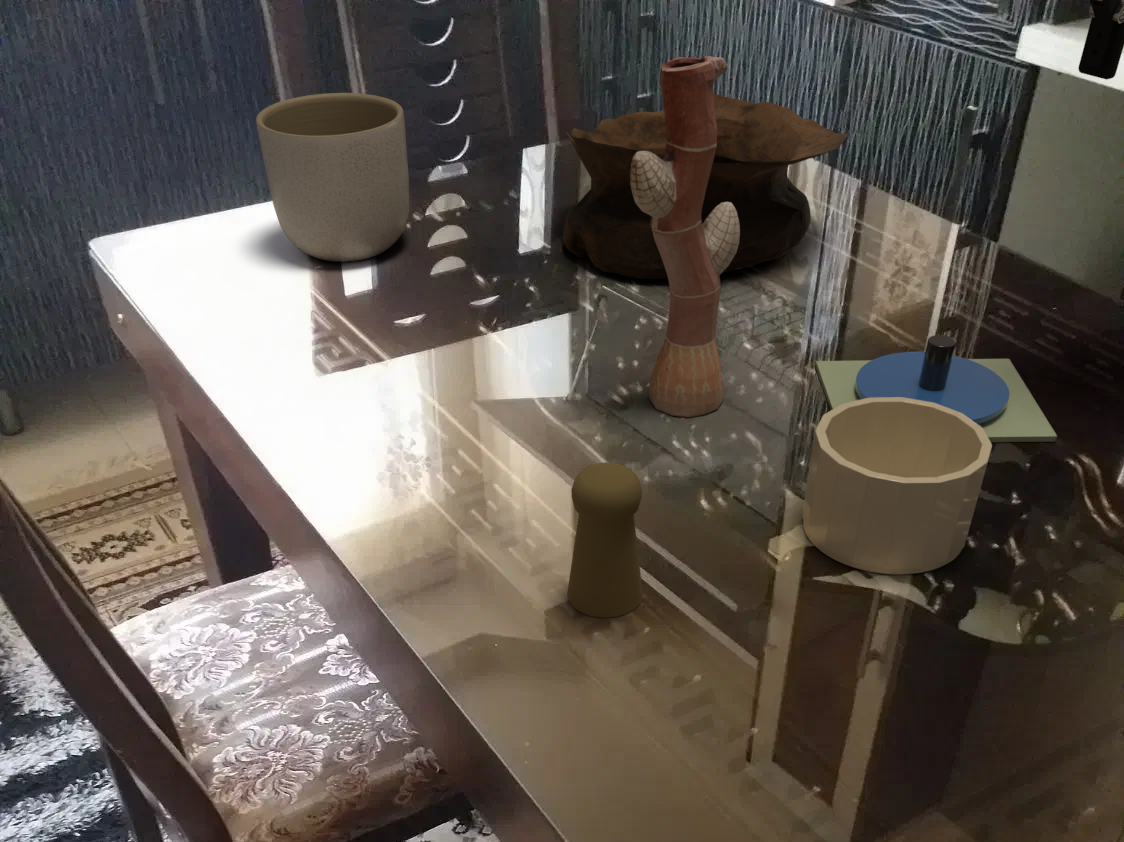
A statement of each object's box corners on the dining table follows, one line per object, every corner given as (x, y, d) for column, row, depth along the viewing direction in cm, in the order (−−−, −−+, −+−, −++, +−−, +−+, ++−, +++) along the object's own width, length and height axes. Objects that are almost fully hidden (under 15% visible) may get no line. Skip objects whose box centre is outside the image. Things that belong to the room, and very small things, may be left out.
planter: (426, 265, 139) (413, 129, 129) (285, 281, 136) (260, 142, 126) (405, 216, 151) (392, 87, 140) (275, 229, 148) (251, 99, 138)
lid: (983, 361, 118) (997, 307, 114) (1025, 432, 108) (1042, 375, 104) (842, 363, 118) (851, 309, 114) (869, 434, 108) (880, 377, 104)
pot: (943, 484, 102) (966, 395, 97) (984, 573, 93) (1012, 481, 87) (791, 486, 103) (804, 397, 97) (816, 575, 93) (832, 483, 87)
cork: (629, 624, 89) (633, 501, 81) (556, 608, 90) (553, 486, 82) (652, 580, 93) (658, 459, 85) (581, 566, 94) (581, 445, 86)
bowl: (503, 254, 146) (495, 121, 136) (682, 203, 163) (686, 82, 153) (705, 313, 125) (712, 162, 116) (886, 248, 142) (905, 111, 133)
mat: (1007, 363, 119) (1009, 358, 119) (1055, 441, 108) (1057, 436, 107) (814, 366, 119) (815, 360, 119) (842, 444, 108) (843, 438, 107)
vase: (721, 380, 117) (751, 44, 96) (734, 415, 112) (769, 68, 91) (618, 385, 117) (626, 48, 96) (627, 421, 111) (637, 72, 90)
